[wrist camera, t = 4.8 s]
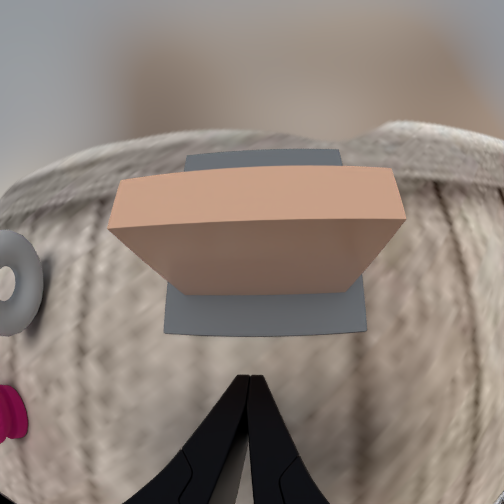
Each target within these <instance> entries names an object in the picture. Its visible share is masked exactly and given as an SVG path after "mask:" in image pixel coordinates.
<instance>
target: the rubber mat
mask: <svg viewBox="0 0 504 504" xmlns="http://www.w3.org/2000/svg"><path fill="white" fill-rule="evenodd" d="M307 165H313V166H343V165H342V161H341V157H340V153H339V149H270V150H247V151H231V152H218V153H207V154H197V155H188V156H187V158H186V163H185V168H184V172H188V171H199V170H211V169H224V168H240V167H260V166H307ZM364 331H367V322H366V309H365V298H364V288H363V279H362V274H361V275H360V276H359V277H358V279H357V280H356V281H355V282H354V283H353V284H352V285H351V286H350V288H349V289H348V290H347V291H346V292H340V293H318V294H287V295H184V294H183V293H182V292H180V291H179V290H178V289H177V288H175V287H174V286H173V285H172V284H170V283H169V282H168V284H167V295H166V306H165V319H164V333H165V334H181V335H201V336H238V337H267V336H304V335H324V334H340V333H353V332H364Z"/></svg>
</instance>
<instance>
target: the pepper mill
mask: <svg viewBox="0 0 504 504" xmlns="http://www.w3.org/2000/svg"><path fill="white" fill-rule="evenodd" d="M27 428H28V419H27V413H26V410H25V407H24V404H23V402H22V399H21V397H20V396H19V394H18V393H17V391H16V390H15V389H14V388H12V387H11V386H8V385H0V444H1V443H2V442H3V441H4V440H5V439H6V437H8V438H10V439H15V438H22V437H24V436H25V434H26V432H27Z"/></svg>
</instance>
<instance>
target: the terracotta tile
mask: <svg viewBox="0 0 504 504" xmlns="http://www.w3.org/2000/svg"><path fill="white" fill-rule="evenodd" d="M405 220H406V215H405V212H404V208H403V204H402V201H401V197H400V194H399V191H398V187H397V184H396V181H395V178H394V175H393V172H392V169H391V168H378V167H358V166H313V165H307V166H260V167H240V168H224V169H211V170H199V171H188V172H179V173H170V174H161V175H153V176H146V177H139V178H132V179H125V180H121V181H120V184H119V187H118V190H117V194H116V197H115V201H114V204H113V208H112V212H111V216H110V219H109V223H108V227H107V229H108V230H109V231H110V232H111V233H112V234H114V235H115V236H116V237H117V238H118V239H119V240H120V241H121V242H122V243H124V244H125V245H126V246H127V247H128V248H129V249H130V250H131V251H133V252H134V253H135V254H136V255H137V256H138V257H139V258H141V259H142V260H143V261H144V262H145V263H146V264H148V265H149V266H150V267H151V268H152V269H153V270H155V271H156V272H157V273H158V274H159V275H161V276H162V277H163V278H164V279H165V280H167V281H168V282H169V283H170V284H172V285H173V286H174V287H175V288H177V289H178V290H179V291H180V292H182V293H183V294H184V295H287V294H318V293H340V292H346V291H347V290H348V289H349V288H350V286H351V285H352V284H353V283H354V282H355V281H356V280H357V279H358V277H359V276H360V275H361V274H362V273H363V272H364V271H365V269H366V268H367V267H368V266H369V265H370V264H371V262H372V261H373V260H374V259H375V258H376V257H377V255H378V254H379V253H380V252H381V250H382V249H383V248H384V247H385V246H386V244H387V243H388V242H389V241H390V239H391V238H392V237H393V236H394V234H395V233H396V232H397V231H398V229H399V228H400V227H401V225H402V224H403V223H404V222H405Z"/></svg>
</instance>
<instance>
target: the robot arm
mask: <svg viewBox="0 0 504 504" xmlns="http://www.w3.org/2000/svg"><path fill="white" fill-rule="evenodd" d="M248 441H249V451H250V464H251V476H252V488H253V500H254V504H330V503H329V502H328V501H327V499H326V498H325V497H324V495H323V494H322V493H321V491H320V490H319V488H318V487H317V485H316V484H315V482H314V481H313V479H312V478H311V476H310V474H309V472H308V470H307V469H306V467H305V465H304V463H303V461H302V459H301V457H300V456H299V453H298V451H297V448H296V446H295V444H294V442H293V440H292V438H291V436H290V434H289V431H288V429H287V427H286V425H285V423H284V420H283V418H282V416H281V414H280V412H279V409H278V407H277V405H276V403H275V401H274V398H273V396H272V394H271V391H270V389H269V387H268V385H267V382H266V380H265V378H264V376H263V375H251V376H250V375H237V376H236V377H235V379H234V380H233V381H232V383H231V384H230V386H229V387H228V388H227V390H226V391H225V392H224V394H223V395H222V396H221V398H220V399H219V401H218V402H217V403H216V405H215V406H214V407H213V409H212V410H211V411H210V412H209V414H208V415H207V416H206V418H205V419H204V420H203V422H202V423H201V424H200V426H199V427H198V428H197V429H196V431H195V432H194V433H193V434H192V436H191V437H190V438H189V440H188V441H187V442H186V443H185V445H184V446H183V447H182V449H181V450H180V451H179V452H178V453H177V454H176V455H175V457H174V458H173V459H172V460H171V461H170V462H169V463H168V465H167V466H166V467H165V468H164V469H163V470H162V471H161V472H160V473H159V474H158V475H156V476H155V477H154V478H153V479H152V480H151V481H150V482H149V483H147V484H146V485H145V486H144V487H143V488H142V489H140V490H139V491H138V492H137V493H136V494H134V495H133V496H132V497H131V498H129V499H128V500H127V501H125V502H124V503H122V504H235V502H236V498H237V493H238V489H239V484H240V479H241V475H242V470H243V465H244V461H245V456H246V451H247V446H248ZM0 504H16V503H15V502H14V501H12V500H11V499H9V498H8V497H7V496H5V495H4V494H2V493H1V492H0Z"/></svg>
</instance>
